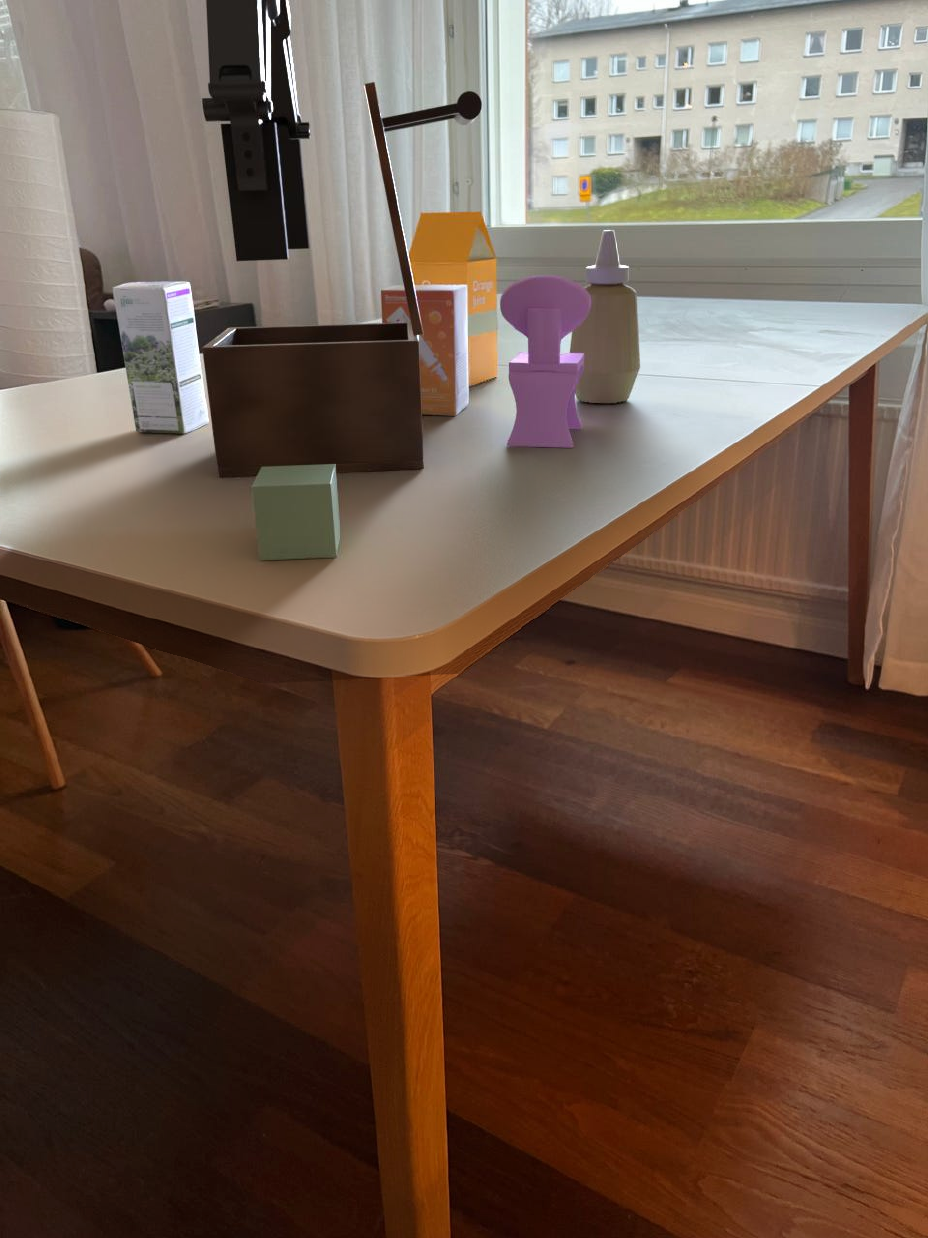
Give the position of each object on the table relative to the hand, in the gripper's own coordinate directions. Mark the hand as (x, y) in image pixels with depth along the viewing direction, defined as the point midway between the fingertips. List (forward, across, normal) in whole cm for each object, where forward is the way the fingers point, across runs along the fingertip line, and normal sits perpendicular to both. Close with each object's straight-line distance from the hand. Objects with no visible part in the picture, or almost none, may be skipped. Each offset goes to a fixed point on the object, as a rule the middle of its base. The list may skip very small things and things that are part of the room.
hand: (277, 254), depth 58 cm
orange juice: (+19, -64, +14) cm, 68 cm away
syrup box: (+18, -40, -17) cm, 47 cm away
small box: (+19, -45, +10) cm, 50 cm away
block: (+18, 0, 0) cm, 19 cm away
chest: (+18, -26, 0) cm, 32 cm away
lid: (-2, -26, +7) cm, 27 cm away
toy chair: (+19, -30, +21) cm, 41 cm away
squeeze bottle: (+19, -47, +30) cm, 59 cm away
